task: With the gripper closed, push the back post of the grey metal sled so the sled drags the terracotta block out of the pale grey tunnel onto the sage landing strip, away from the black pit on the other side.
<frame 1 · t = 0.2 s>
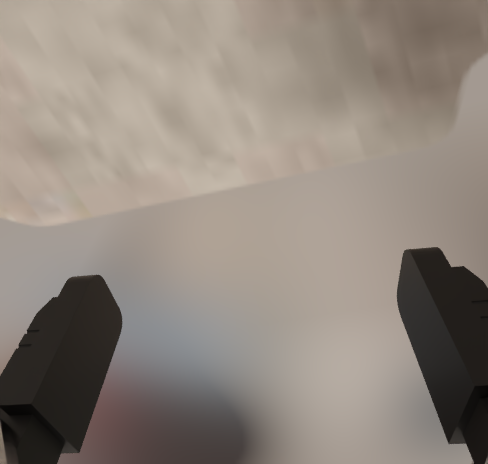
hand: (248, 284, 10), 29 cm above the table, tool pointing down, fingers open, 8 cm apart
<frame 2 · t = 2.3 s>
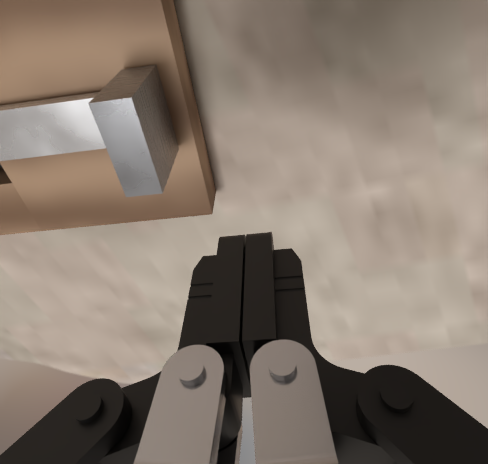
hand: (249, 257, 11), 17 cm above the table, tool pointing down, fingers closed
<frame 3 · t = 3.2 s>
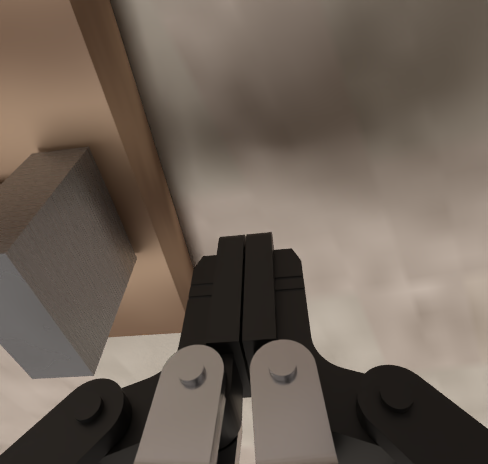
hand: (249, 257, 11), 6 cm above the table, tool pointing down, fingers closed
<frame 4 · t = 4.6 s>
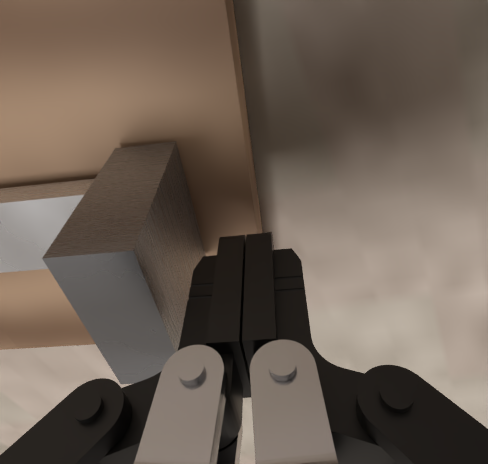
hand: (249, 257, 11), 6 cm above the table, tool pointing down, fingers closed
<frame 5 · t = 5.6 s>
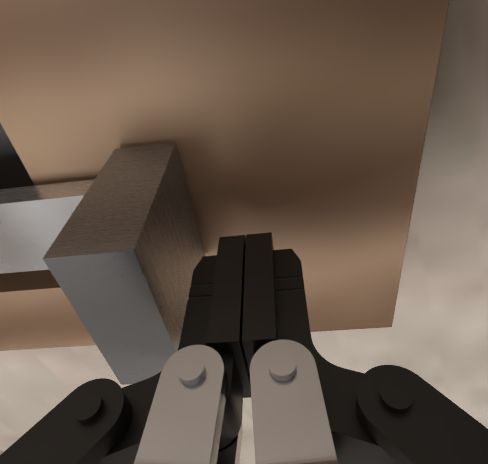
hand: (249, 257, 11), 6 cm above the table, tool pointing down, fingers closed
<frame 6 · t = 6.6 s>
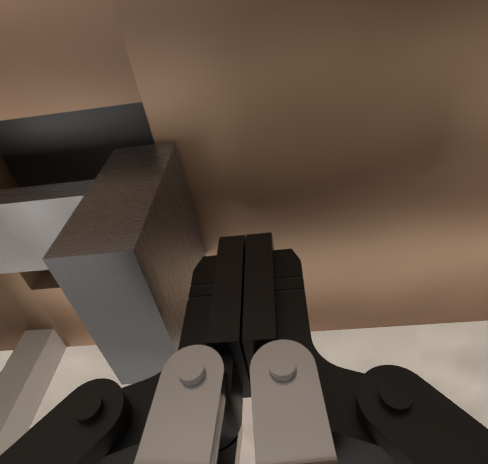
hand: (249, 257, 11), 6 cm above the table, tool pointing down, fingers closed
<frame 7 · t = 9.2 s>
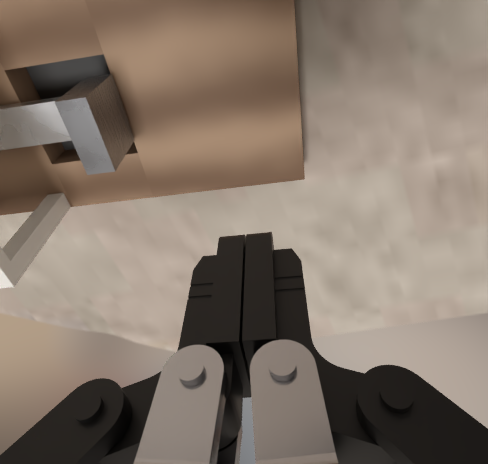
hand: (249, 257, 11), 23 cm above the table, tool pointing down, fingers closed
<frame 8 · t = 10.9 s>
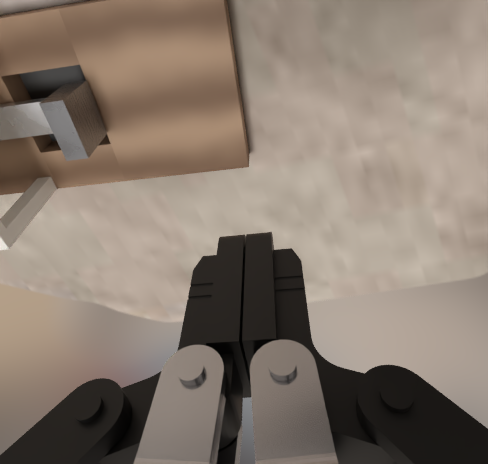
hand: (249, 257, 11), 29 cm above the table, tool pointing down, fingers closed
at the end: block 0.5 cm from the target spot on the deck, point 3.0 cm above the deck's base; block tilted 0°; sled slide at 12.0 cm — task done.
